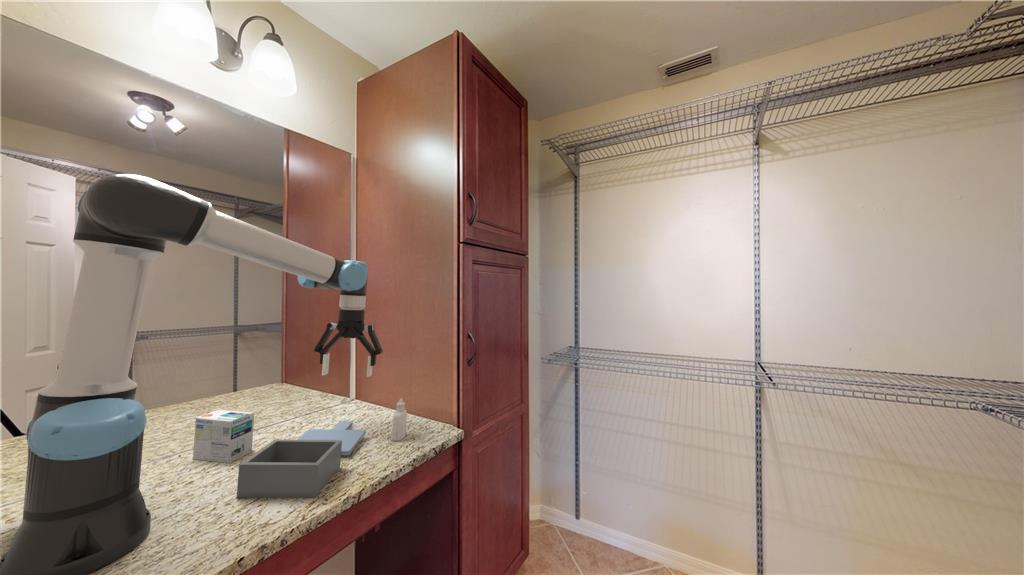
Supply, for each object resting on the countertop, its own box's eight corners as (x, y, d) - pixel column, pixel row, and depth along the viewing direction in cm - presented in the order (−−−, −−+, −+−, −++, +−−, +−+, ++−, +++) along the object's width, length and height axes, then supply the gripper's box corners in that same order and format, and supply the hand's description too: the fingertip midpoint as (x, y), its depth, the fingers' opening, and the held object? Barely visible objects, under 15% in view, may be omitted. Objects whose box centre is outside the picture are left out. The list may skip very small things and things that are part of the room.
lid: (283, 459, 85) (283, 450, 85) (319, 428, 104) (319, 420, 104) (348, 460, 87) (349, 451, 87) (372, 429, 105) (372, 421, 105)
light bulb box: (253, 451, 88) (256, 411, 88) (229, 464, 81) (232, 421, 81) (217, 447, 89) (220, 408, 89) (190, 460, 82) (194, 417, 82)
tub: (236, 498, 69) (239, 464, 69) (272, 467, 80) (275, 439, 81) (315, 497, 70) (318, 464, 70) (340, 468, 82) (341, 440, 82)
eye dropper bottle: (386, 438, 100) (388, 399, 100) (401, 432, 104) (404, 395, 105) (395, 442, 97) (397, 402, 98) (410, 436, 102) (412, 398, 102)
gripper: (395, 310, 109) (390, 373, 108) (317, 306, 107) (312, 371, 106) (388, 311, 102) (383, 379, 101) (305, 307, 99) (299, 376, 99)
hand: (347, 375), depth 103 cm, fingers open, 13 cm apart
